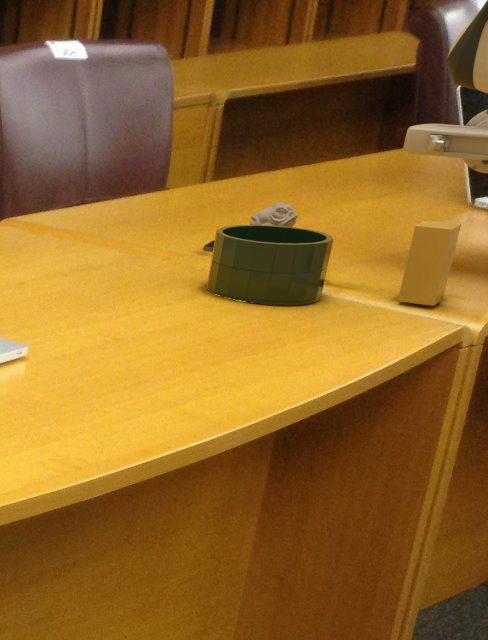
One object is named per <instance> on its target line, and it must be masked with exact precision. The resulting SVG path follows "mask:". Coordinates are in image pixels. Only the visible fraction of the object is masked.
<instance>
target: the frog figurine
mask: <svg viewBox="0 0 488 640" xmlns="http://www.w3.org/2000/svg"><path fill="white" fill-rule="evenodd" d="M298 218H299V214H298V213H297V212H296V210H294V207H293V206H292V205H291V204H287V203H284V202H276V203H274V204H272V205H271V206H268V207H266V208H264V209H262V210H259V211H256V212H255V213H253V214H252V215H251V216H250V219H251V221H250V222H249V225H276V226H288V227H294V225H296V223H297V220H298Z"/></svg>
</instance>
